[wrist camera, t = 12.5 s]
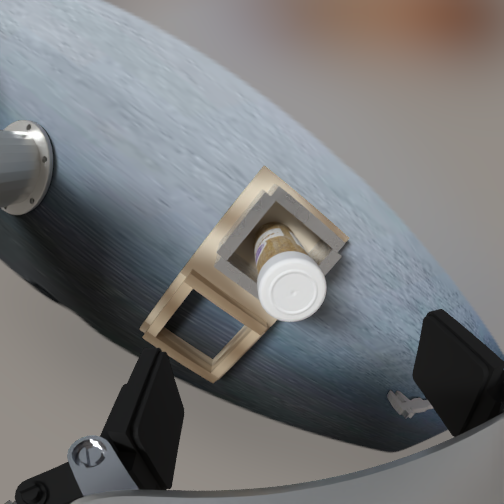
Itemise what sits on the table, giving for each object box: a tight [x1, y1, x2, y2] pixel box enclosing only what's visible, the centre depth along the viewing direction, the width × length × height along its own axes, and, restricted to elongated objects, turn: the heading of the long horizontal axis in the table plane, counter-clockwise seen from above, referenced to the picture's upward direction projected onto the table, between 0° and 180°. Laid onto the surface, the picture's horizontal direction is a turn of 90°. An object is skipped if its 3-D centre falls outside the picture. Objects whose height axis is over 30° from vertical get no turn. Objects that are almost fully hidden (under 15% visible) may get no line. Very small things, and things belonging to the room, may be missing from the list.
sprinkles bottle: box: [253, 222, 327, 322], centre depth 26 cm, size 5×5×14 cm
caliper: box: [386, 390, 433, 419], centre depth 39 cm, size 20×1×6 cm, turn 70°
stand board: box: [140, 166, 349, 383], centre depth 34 cm, size 24×12×3 cm, turn 141°
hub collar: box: [214, 184, 345, 300], centre depth 30 cm, size 9×9×4 cm
